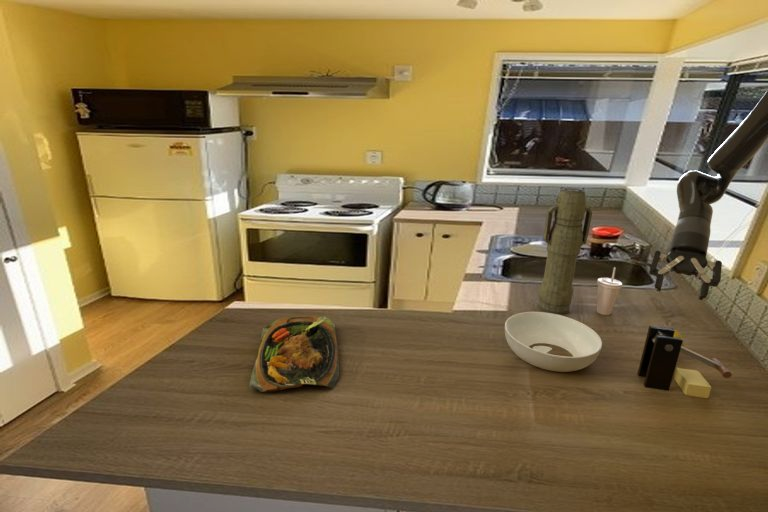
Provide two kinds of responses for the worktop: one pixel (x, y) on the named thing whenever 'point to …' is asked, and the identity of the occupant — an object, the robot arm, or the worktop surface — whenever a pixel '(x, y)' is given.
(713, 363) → the lever
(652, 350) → the slicer
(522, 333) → the serving bowl
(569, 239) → the thermos
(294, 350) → the prepared meal
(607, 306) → the smoothie
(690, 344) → the worktop surface
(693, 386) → the butter
